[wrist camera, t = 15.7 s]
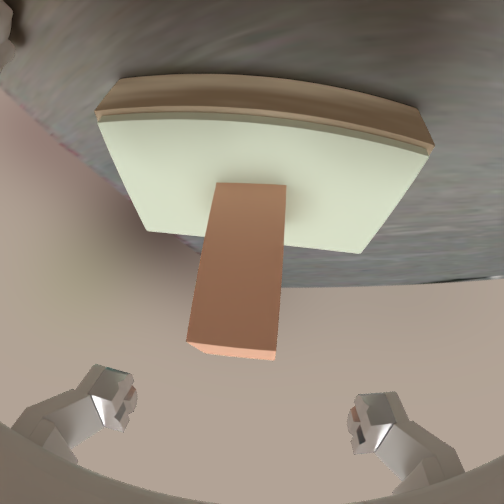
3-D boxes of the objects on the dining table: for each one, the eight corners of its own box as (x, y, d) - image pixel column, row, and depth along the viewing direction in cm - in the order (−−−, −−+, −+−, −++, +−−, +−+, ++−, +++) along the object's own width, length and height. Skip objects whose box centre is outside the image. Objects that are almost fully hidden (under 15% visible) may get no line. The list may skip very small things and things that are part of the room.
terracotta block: (216, 182, 16) (186, 341, 12) (286, 185, 16) (276, 351, 12) (225, 220, 20) (205, 353, 16) (284, 223, 20) (274, 360, 15)
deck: (119, 79, 14) (89, 117, 12) (417, 108, 14) (438, 153, 12) (156, 194, 25) (144, 233, 23) (359, 215, 24) (362, 256, 22)
